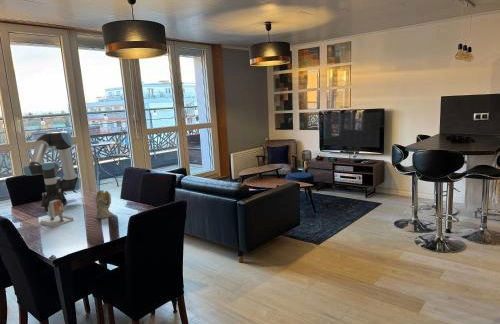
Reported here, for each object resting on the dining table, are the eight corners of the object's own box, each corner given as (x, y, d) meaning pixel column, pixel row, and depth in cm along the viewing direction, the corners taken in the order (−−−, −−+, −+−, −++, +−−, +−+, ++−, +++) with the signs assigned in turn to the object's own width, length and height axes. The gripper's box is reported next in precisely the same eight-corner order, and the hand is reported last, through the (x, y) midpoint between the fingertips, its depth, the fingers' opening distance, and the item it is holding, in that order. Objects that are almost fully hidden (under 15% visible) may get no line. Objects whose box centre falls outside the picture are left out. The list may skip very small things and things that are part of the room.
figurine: (96, 220, 246) (92, 193, 242) (95, 216, 256) (91, 190, 253) (113, 217, 251) (110, 190, 248) (112, 213, 261) (108, 187, 258)
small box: (55, 216, 242) (53, 202, 241) (48, 216, 243) (46, 202, 242) (63, 213, 250) (61, 199, 248) (56, 213, 251) (54, 199, 249)
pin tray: (59, 217, 258) (58, 207, 257) (73, 220, 249) (71, 209, 247) (40, 223, 247) (38, 212, 245) (54, 226, 237) (52, 215, 236)
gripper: (63, 179, 254) (67, 208, 258) (32, 186, 236) (37, 217, 239) (68, 180, 250) (73, 209, 254) (37, 187, 232) (43, 219, 235)
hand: (55, 213), depth 247 cm, fingers closed on small box, 9 cm apart
